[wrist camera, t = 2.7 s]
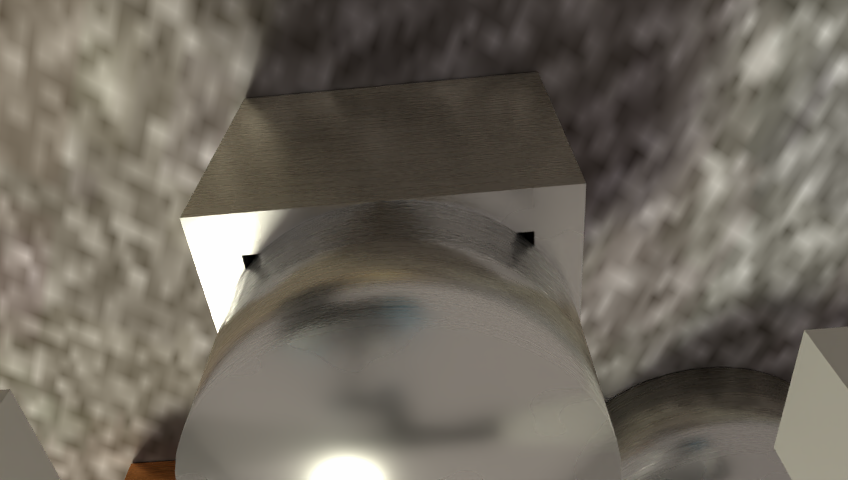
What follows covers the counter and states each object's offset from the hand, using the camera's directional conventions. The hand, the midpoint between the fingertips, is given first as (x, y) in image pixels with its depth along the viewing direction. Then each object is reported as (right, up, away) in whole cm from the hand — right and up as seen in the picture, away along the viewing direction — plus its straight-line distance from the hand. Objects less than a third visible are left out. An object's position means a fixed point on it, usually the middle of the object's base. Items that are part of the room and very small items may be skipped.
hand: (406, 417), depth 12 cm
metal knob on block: (0, +4, +5) cm, 6 cm away
